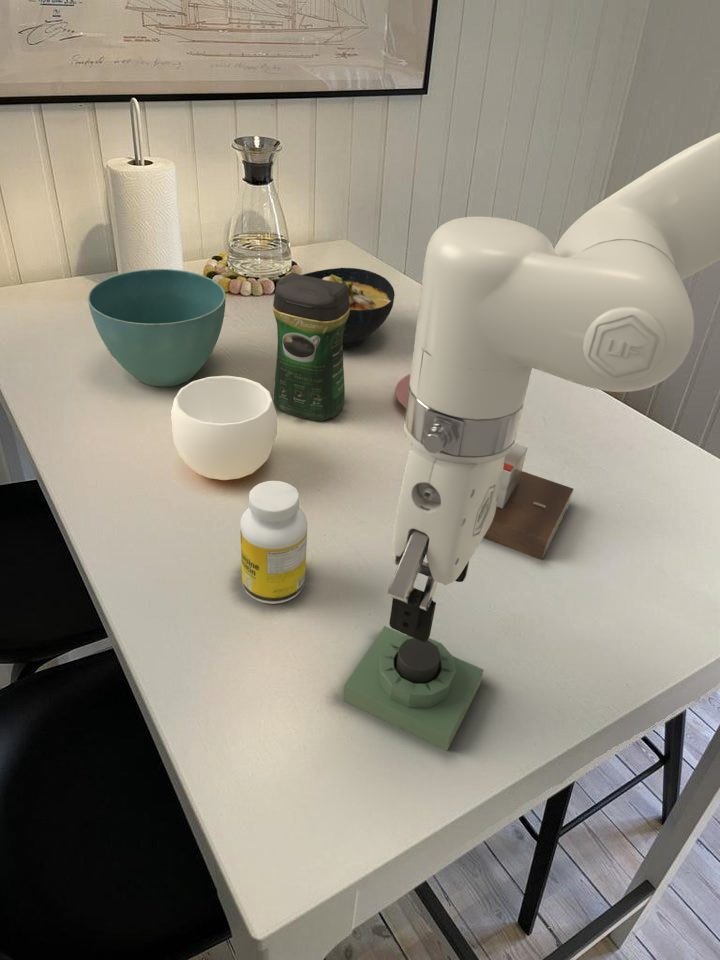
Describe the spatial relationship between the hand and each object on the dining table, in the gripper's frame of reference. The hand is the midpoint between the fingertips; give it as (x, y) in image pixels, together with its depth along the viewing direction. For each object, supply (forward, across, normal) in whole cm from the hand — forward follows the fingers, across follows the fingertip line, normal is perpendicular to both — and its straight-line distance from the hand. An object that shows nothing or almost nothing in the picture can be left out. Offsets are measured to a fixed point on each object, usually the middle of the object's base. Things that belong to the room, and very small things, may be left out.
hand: (428, 601), depth 61 cm
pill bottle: (+12, +5, +18) cm, 22 cm away
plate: (+12, +48, +17) cm, 52 cm away
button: (+8, 0, 0) cm, 8 cm away
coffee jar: (+12, +37, +33) cm, 51 cm away
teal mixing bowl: (+12, +33, +55) cm, 65 cm away
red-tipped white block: (+9, +29, +2) cm, 30 cm away
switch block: (+12, 0, 0) cm, 12 cm away
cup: (+12, +19, +34) cm, 41 cm away
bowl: (+12, +58, +40) cm, 71 cm away
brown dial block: (+12, +29, +2) cm, 31 cm away
